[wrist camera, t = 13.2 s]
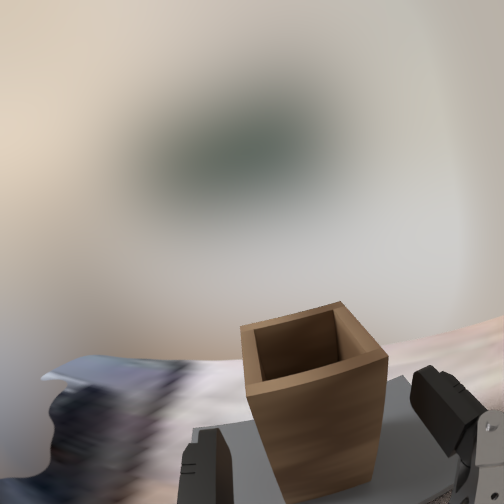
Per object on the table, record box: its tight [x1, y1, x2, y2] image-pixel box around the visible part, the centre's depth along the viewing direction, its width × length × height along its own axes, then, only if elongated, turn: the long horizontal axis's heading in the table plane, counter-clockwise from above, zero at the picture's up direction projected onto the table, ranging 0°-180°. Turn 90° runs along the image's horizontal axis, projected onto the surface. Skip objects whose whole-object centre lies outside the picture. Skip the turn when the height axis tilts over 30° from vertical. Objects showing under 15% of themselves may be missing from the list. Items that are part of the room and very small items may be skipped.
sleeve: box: [240, 301, 389, 504], centre depth 12 cm, size 5×5×10 cm
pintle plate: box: [191, 375, 459, 504], centre depth 13 cm, size 17×11×8 cm, turn 94°
